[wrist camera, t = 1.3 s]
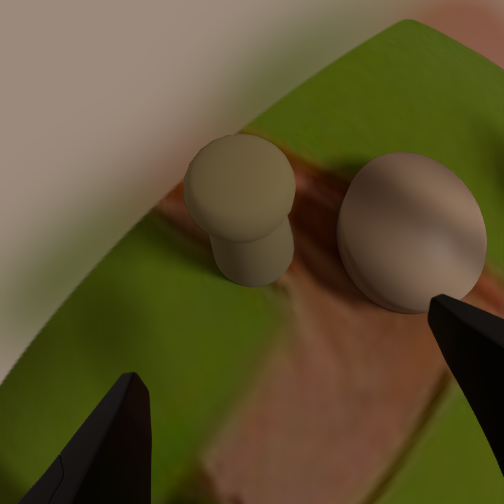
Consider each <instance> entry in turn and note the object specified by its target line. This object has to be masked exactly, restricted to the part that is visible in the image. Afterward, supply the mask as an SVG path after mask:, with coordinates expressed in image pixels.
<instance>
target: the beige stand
mask: <svg viewBox="0 0 504 504" xmlns="http://www.w3.org/2000/svg"><path fill="white" fill-rule="evenodd" d="M336 239H337V247H338V251H339V255H340V258H341V261H342V263H343V266H344V268H345V270H346V272H347V274H348V275H349V277H350V278H351V280H352V281H353V283H354V284H355V285H356V286H357V288H358V289H359V290H360V291H361V292H362V293H363V294H364V295H365V296H366V297H367V298H369V299H370V300H371V301H373V302H374V303H376V304H377V305H379V306H381V307H383V308H385V309H388V310H390V311H393V312H397V313H402V314H419V313H425V312H428V311H429V305H430V300H431V298H432V297H434V296H436V295H439V294H445V295H448V296H450V297H453V298H455V299H458V300H460V299H462V298H463V297H464V296H465V295H466V294H467V293H468V292H469V291H470V290H471V289H472V288H473V287H474V285H475V284H476V282H477V280H478V279H479V277H480V275H481V272H482V269H483V267H484V263H485V258H486V250H487V237H486V229H485V224H484V220H483V217H482V214H481V211H480V209H479V206H478V204H477V202H476V200H475V198H474V197H473V195H472V193H471V192H470V190H469V189H468V188H467V186H466V185H465V184H464V183H463V182H462V181H461V179H460V178H459V177H458V176H457V175H456V174H454V173H453V172H452V171H451V170H450V169H448V168H447V167H446V166H444V165H443V164H441V163H439V162H437V161H436V160H433V159H431V158H429V157H426V156H423V155H420V154H415V153H409V152H395V153H389V154H385V155H382V156H379V157H377V158H375V159H373V160H371V161H370V162H368V163H367V164H366V165H365V166H363V167H362V168H361V169H360V171H359V172H358V173H357V174H356V175H355V177H354V179H353V180H352V182H351V184H350V186H349V188H348V191H347V193H346V195H345V198H344V200H343V202H342V205H341V207H340V210H339V213H338V218H337V224H336Z"/></svg>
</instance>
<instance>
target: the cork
mask: <svg viewBox="0 0 504 504" xmlns="http://www.w3.org/2000/svg"><path fill="white" fill-rule="evenodd" d="M295 189H296V187H295V179H294V173H293V170H292V168H291V166H290V164H289V162H288V160H287V158H286V157H285V155H284V154H283V153H282V152H281V151H280V150H279V149H278V148H277V147H276V146H275V145H273V144H272V143H270V142H268V141H266V140H264V139H261V138H259V137H257V136H252V135H246V134H236V135H227V136H224V137H221V138H219V139H216V140H214V141H212V142H210V143H209V144H208V145H206V146H205V147H204V148H202V149H201V150H200V151H199V152H198V154H197V155H196V156H195V157H194V159H193V160H192V161H191V163H190V164H189V167H188V169H187V172H186V174H185V177H184V200H185V203H186V206H187V209H188V212H189V214H190V215H191V217H192V218H193V219H194V221H195V222H196V223H197V224H198V225H199V227H200V228H201V229H202V230H203V231H205V232H206V233H208V234H209V237H210V242H211V247H212V251H213V256H214V259H215V261H216V264H217V267H218V268H219V270H220V271H221V272H222V273H223V275H224V276H225V277H226V278H228V279H229V280H231V281H232V282H234V283H236V284H238V285H242V286H247V287H258V286H264V285H267V284H269V283H272V282H274V281H276V280H277V279H278V278H279V277H280V276H282V275H283V274H284V273H285V272H286V270H287V269H288V267H289V265H290V264H291V262H292V258H293V254H294V241H293V235H292V231H291V227H290V223H289V220H288V216H287V215H288V214H289V212H290V210H291V209H292V204H293V200H294V195H295Z"/></svg>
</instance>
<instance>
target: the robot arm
mask: <svg viewBox="0 0 504 504" xmlns="http://www.w3.org/2000/svg"><path fill="white" fill-rule="evenodd" d="M428 324H429V326H430V328H431V330H432V333H433V335H434V337H435V339H436V341H437V343H438V345H439V348H440V350H441V352H442V354H443V356H444V358H445V361H446V363H447V364H448V366H449V368H450V370H451V372H452V373H453V375H454V377H455V379H456V380H457V382H458V384H459V386H460V388H461V389H462V391H463V393H464V395H465V397H466V399H467V400H468V402H469V404H470V406H471V408H472V410H473V412H474V414H475V416H476V418H477V420H478V422H479V424H480V426H481V428H482V430H483V432H484V434H485V436H486V438H487V440H488V442H489V444H490V446H491V449H492V451H493V453H494V455H495V457H496V460H497V462H498V465H499V467H500V469H501V472H502V474H503V477H504V319H502V318H500V317H498V316H496V315H493V314H491V313H489V312H486V311H484V310H481V309H479V308H477V307H474V306H472V305H470V304H467V303H465V302H462V301H460V300H458V299H455V298H453V297H450V296H448V295H445V294H439V295H436V296H434V297H432V298H431V300H430V305H429V311H428ZM151 453H152V431H151V416H150V398H149V391H148V389H147V387H146V386H145V384H144V383H143V381H142V380H141V379H140V377H139V376H138V374H137V373H135V372H130V373H124V374H122V375H121V376H120V377H119V379H118V380H117V381H116V382H115V384H114V385H113V386H112V387H111V389H110V390H109V391H108V392H107V394H106V395H105V396H104V397H103V399H102V400H101V401H100V403H99V404H98V405H97V406H96V408H95V409H94V410H93V411H92V413H91V414H90V415H89V417H88V418H87V419H86V420H85V422H84V423H83V424H82V425H81V427H80V428H79V429H78V431H77V432H76V433H75V434H74V436H73V437H72V438H71V440H70V441H69V442H68V444H67V445H66V446H65V447H64V449H63V450H62V451H61V453H60V455H58V456H57V458H56V459H55V460H54V462H53V463H52V464H51V465H50V467H49V468H48V469H47V470H46V472H45V473H44V474H43V475H42V476H41V478H40V479H39V480H38V481H37V482H36V483H35V484H34V485H33V486H32V488H31V489H30V490H29V491H28V492H27V493H26V494H25V495H24V496H23V497H22V498H21V499H20V500H19V502H18V503H17V504H151Z"/></svg>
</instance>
